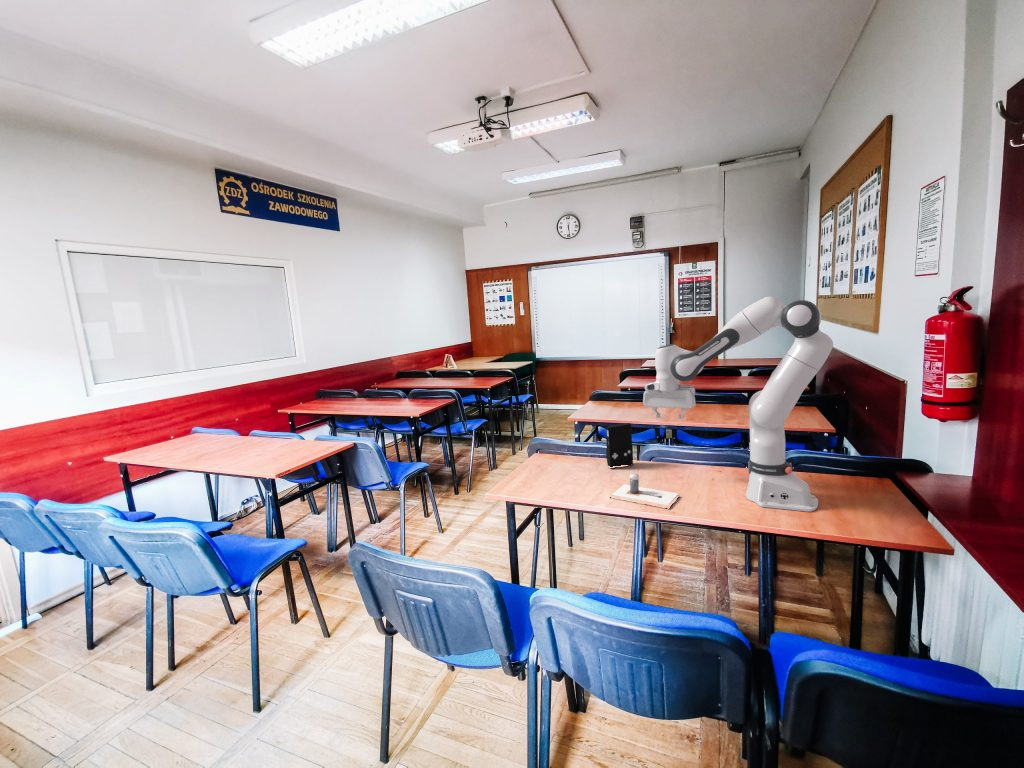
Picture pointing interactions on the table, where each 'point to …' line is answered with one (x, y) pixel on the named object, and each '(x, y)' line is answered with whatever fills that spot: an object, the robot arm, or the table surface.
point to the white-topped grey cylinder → (634, 483)
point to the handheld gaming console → (619, 445)
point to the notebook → (646, 495)
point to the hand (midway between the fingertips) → (669, 418)
